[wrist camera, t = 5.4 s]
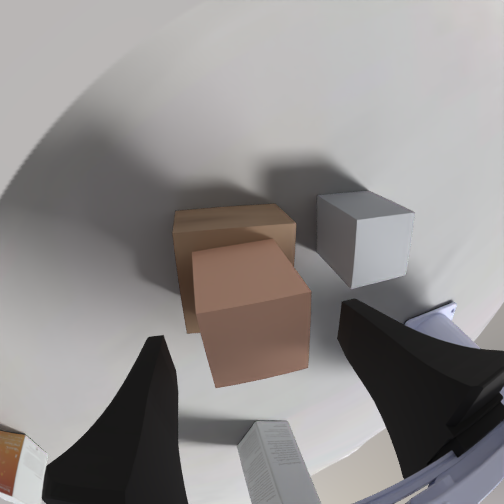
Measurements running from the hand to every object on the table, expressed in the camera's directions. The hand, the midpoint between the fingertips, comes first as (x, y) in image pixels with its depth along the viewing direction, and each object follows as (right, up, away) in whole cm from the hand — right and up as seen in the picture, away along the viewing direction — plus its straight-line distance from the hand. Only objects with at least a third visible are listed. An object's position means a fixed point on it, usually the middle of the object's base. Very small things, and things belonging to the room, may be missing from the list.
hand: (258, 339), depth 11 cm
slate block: (+6, +6, +8) cm, 12 cm away
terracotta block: (-1, +2, +4) cm, 5 cm away
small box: (-33, -23, +12) cm, 42 cm away
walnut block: (-2, +3, +7) cm, 9 cm away
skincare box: (+1, -17, +17) cm, 24 cm away
